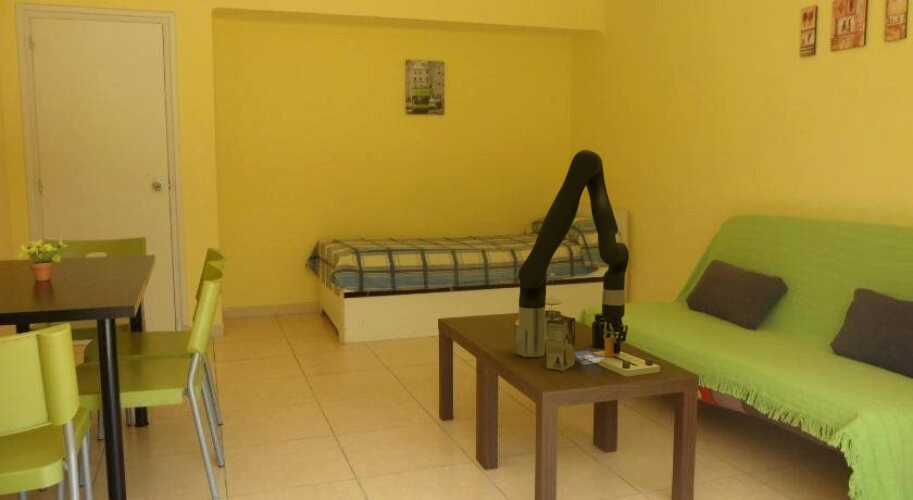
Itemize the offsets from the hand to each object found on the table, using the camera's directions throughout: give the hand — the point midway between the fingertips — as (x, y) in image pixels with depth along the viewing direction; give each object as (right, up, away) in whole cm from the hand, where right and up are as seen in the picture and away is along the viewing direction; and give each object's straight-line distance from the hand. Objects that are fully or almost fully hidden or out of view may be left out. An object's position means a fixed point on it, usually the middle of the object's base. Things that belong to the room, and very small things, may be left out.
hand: (612, 351), depth 262 cm
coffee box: (-18, -5, -5) cm, 19 cm away
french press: (-16, 0, +37) cm, 40 cm away
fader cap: (0, -1, 0) cm, 1 cm away
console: (+2, -4, -4) cm, 6 cm away
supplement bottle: (0, -1, +22) cm, 22 cm away
